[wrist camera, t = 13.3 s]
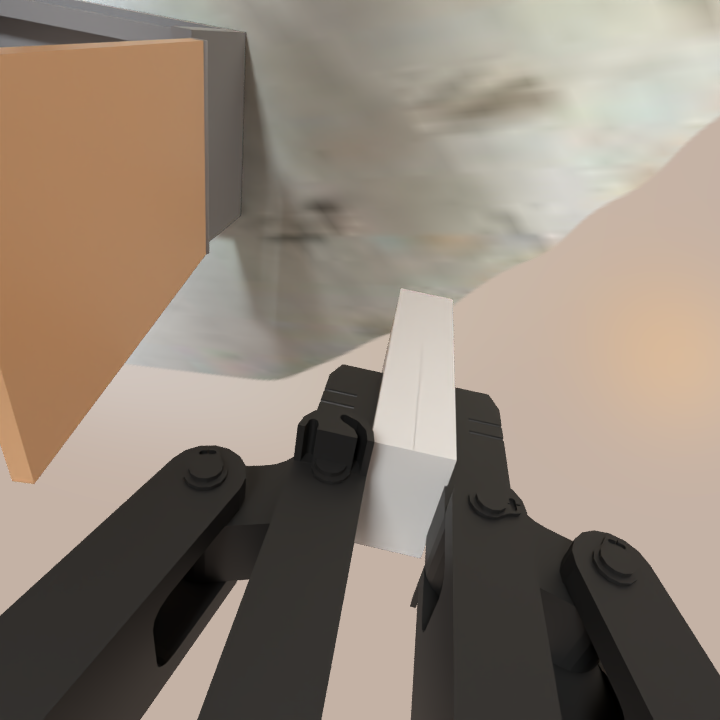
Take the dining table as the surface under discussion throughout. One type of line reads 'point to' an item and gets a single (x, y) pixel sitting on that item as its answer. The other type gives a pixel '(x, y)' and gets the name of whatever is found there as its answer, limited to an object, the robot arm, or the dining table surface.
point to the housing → (111, 24)
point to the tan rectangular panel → (92, 221)
